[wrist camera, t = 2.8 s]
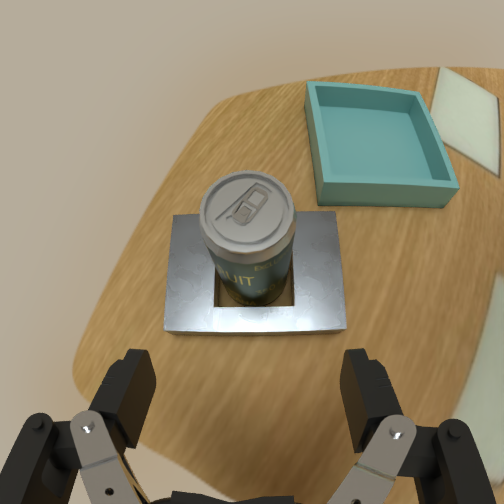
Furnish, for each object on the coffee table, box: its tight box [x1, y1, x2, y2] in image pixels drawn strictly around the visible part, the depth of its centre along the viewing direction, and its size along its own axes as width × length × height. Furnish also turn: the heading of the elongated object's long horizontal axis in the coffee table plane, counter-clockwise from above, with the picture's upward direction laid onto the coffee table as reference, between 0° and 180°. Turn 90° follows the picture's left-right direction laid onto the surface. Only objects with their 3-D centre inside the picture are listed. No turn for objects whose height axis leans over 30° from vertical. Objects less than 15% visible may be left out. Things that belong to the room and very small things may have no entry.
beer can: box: [199, 170, 297, 307], centre depth 22 cm, size 5×5×12 cm
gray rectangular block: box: [164, 211, 346, 336], centre depth 27 cm, size 14×10×2 cm
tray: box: [304, 81, 460, 208], centre depth 30 cm, size 14×14×4 cm
